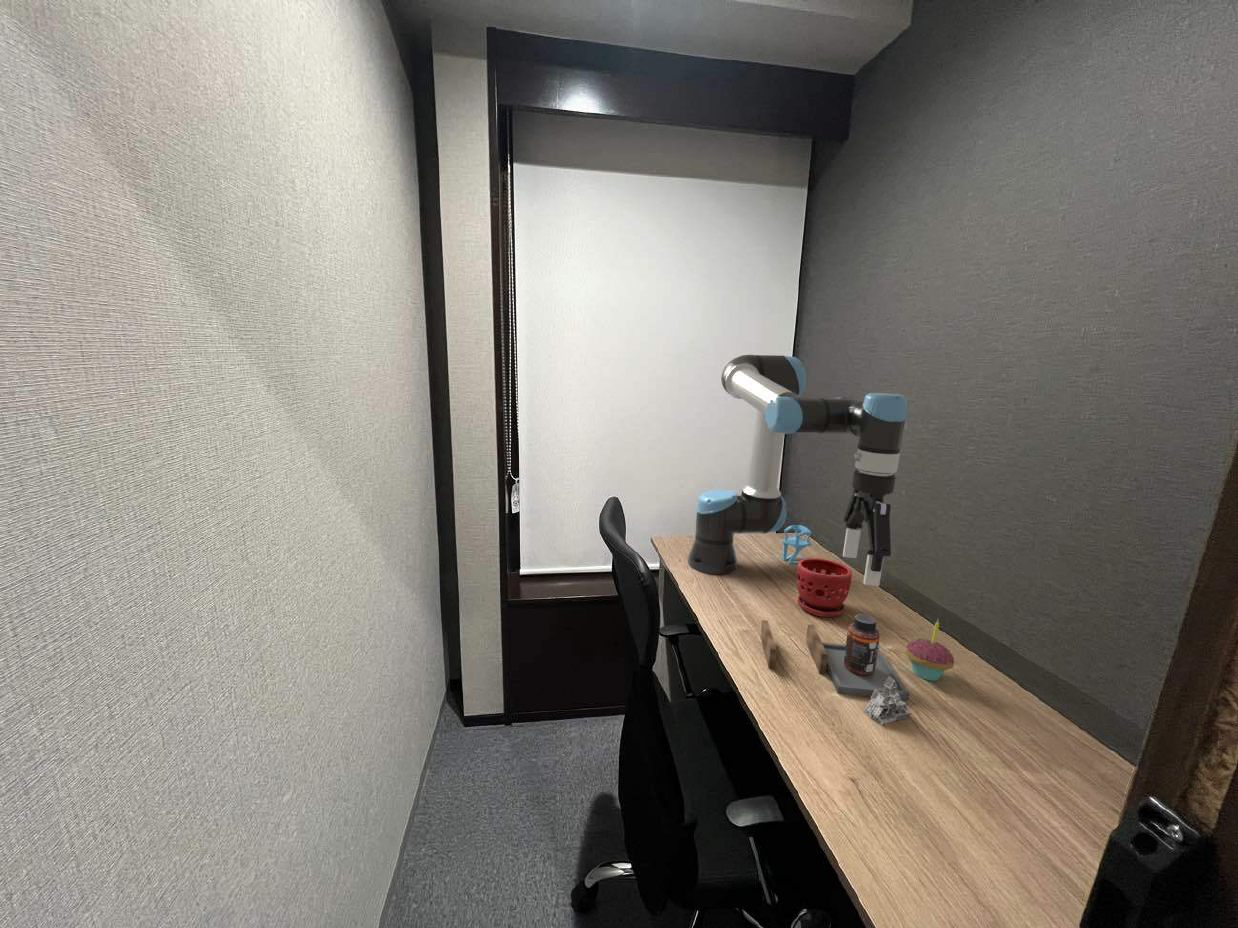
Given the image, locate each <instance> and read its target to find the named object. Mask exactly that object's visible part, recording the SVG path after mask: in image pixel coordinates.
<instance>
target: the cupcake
mask: <svg viewBox="0 0 1238 928" xmlns="http://www.w3.org/2000/svg"><path fill="white" fill-rule="evenodd" d="M939 620H940V619H939V618H937V621H936V622H935V623H934V628H933V632H932V633H933V634H932V637H931V639H925V638H917V639H915V640H912V641H910V642H908V644H907V645H906V650H905V654H906V656H907V658H908V660H909V661H910V662H911V666H912V672H913V673H914V674H915V675H916V676H918V678H921V679H923V680H926V681H931V682H932V681H933V682H934V681H938V680H939V679H940V678H941V676H942V675H943V673H944V672H945V671H948V670H950V669H952V668H954V663H955V658H954V655H953V653H952V652H951V650H949V649H948V648H947V647H945V645H943V644H941V643H939V642H937V635H938V633H939V632H938V631H939V627H940V623H939Z"/></svg>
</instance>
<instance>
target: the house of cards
mask: <svg viewBox="0 0 1238 928" xmlns="http://www.w3.org/2000/svg"><path fill="white" fill-rule="evenodd" d="M884 685H885V687H884V692H883V693H880V692H878V691H877V690H876V689H875V691H874V693H873V694H872V696H871V697H870V700H869V701H868V703H867V705H866V706H865V707H864V713H865V714H867V716H869V717H870V718H871V719H872V720H874V721H875V722H877V723H878V724H879V726H882V725H885V724H889V723H892V722H895V723H896V722H897V721H899V720H904V719H908V718H911V715H912V712H911V711H910V710H909V709H908V707H907V704H906V703H905V702H904V701H903V700H901V698H900V695H899V694H898V693H896V687H897V684H896V682H895V680H894V679H892V678H891V677H888V679H887V681H886V682H885V684H884Z"/></svg>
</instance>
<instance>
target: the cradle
mask: <svg viewBox="0 0 1238 928" xmlns="http://www.w3.org/2000/svg"><path fill="white" fill-rule="evenodd" d="M760 629H761V630H760V640H761V646H762V648H763V649H762V650H763V652H764V656H765V660H766V664H767V667H768V669H773V670H775V668H776V659H777V651H778V650H777V647H776V646H777V645H776V643H775V640H774V637H773V634H772V630H771V628H770V624H769V621H768V620H761V628H760ZM805 643H806V646H807V648H808V651H809V653H810V655H811V658H812V660H813V662H814V665H815V667H816V669H817V672H818V674H820V675H826V670H827V669H826V664H827V656H828V654H827V652H826V650H825V648H824V646H823V644H822V640H821V638H820V636H819V634H818V631H817V630H816V627H815V626H814V624H807V630H806V638H805Z"/></svg>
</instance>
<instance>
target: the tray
mask: <svg viewBox="0 0 1238 928" xmlns="http://www.w3.org/2000/svg"><path fill="white" fill-rule="evenodd" d="M821 642H822V641H821ZM822 644H823V646H824V648H825V650H826V652H827V654H828V656H827V664H826V670H827V673H828V675H829V677H830V680H831V681H832V683H833V686H834V688H835V691H836V693H837V694H842V695H850V696H859V697H861V696H862V697H868V698H871V696H872V694H873V693H874V691H875V689H876V690H877V691H878V692H880V693H883V692H884V687H885V685H884V684H885V682H886V681H887V679H888V677H891V678H892V679H894V680H895V682H896V684H897V687H896V693H898V694H899V695H900V698H901V701H903V702H904V701H905V702H909V700H910V693H909V691H908V689H907V688H906V687H905V685H904V683H903V682H902V681H901V679H900V678H899V676H898V675H897V673H896V672H895V670H894V668H893V667H892V666H891V664H890V663H889V661H888V660H887V659H886V657H885V656H884V654H883V652H882V651H881V650H880V648H879V647H878V652H877V660H876V666H875V671H874V673H873V674H871V675H860V674H856V673H854V672H851V671H850V670H848V669H847V668H846V667H845V665H844V656H845V648H846V644H841V643H832V642H822Z"/></svg>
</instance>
